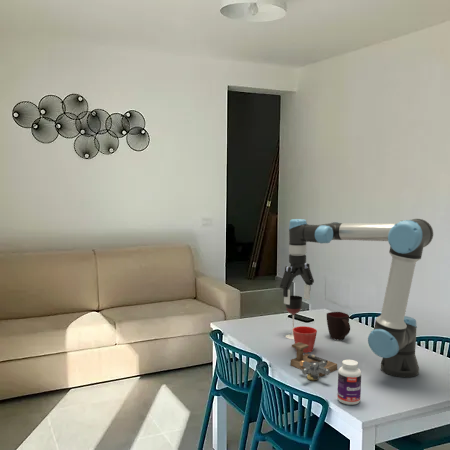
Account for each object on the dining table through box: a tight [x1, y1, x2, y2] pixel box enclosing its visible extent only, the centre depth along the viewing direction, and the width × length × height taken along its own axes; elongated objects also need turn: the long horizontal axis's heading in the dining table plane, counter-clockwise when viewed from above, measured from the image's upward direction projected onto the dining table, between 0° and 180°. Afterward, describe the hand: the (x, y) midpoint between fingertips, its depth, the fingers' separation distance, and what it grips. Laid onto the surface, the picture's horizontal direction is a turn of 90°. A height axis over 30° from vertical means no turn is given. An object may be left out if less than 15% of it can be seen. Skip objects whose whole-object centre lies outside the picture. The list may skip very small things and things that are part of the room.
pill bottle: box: [336, 359, 362, 406], centre depth 182 cm, size 8×8×14 cm
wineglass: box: [285, 295, 303, 340], centre depth 253 cm, size 8×9×20 cm
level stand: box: [290, 342, 338, 377], centre depth 214 cm, size 16×11×9 cm
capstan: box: [300, 360, 331, 381], centre depth 201 cm, size 14×14×6 cm
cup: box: [326, 311, 351, 341], centre depth 250 cm, size 10×14×12 cm
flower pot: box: [293, 325, 318, 354], centre depth 235 cm, size 11×11×10 cm
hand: (297, 301), depth 226 cm, fingers open, 13 cm apart
